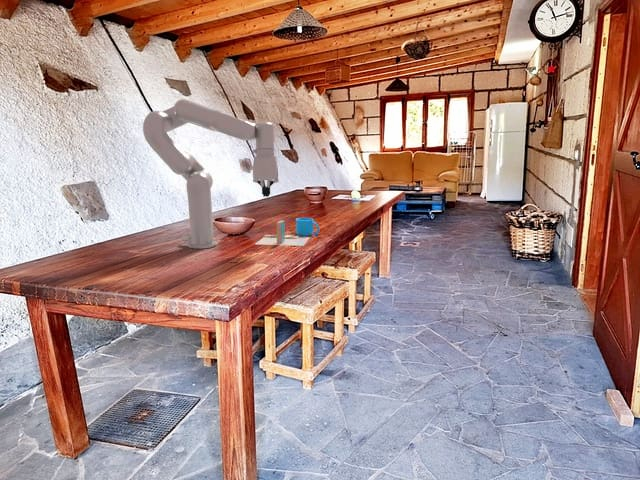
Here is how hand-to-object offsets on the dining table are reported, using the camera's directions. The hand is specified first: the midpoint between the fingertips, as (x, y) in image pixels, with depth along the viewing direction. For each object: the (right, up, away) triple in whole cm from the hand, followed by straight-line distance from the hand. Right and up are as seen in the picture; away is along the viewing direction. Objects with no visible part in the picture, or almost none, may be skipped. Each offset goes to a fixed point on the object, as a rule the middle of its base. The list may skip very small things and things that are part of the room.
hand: (266, 196), depth 201 cm
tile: (+6, -20, +3) cm, 21 cm away
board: (+7, -20, +6) cm, 22 cm away
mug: (+17, -17, +21) cm, 32 cm away
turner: (+6, -18, +13) cm, 23 cm away
